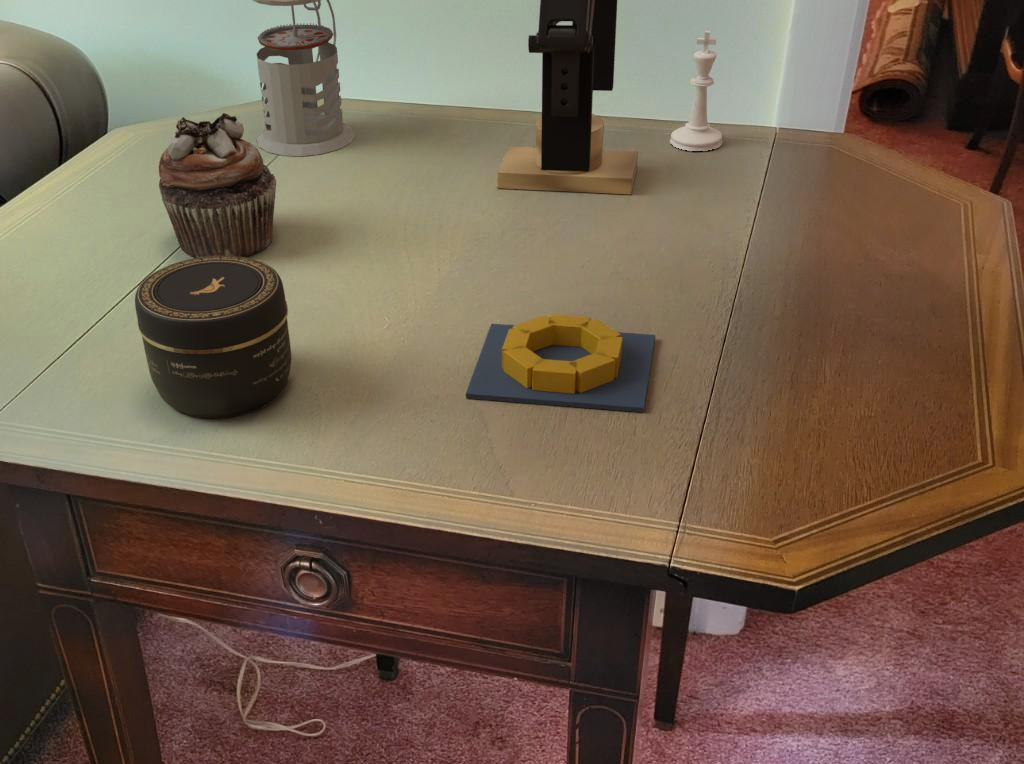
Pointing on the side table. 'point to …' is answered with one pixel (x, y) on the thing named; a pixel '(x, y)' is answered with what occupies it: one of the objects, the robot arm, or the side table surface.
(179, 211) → the cupcake
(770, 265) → the side table surface
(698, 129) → the chess piece
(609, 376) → the ring
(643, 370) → the mat
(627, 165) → the stand
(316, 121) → the french press
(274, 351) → the jar
